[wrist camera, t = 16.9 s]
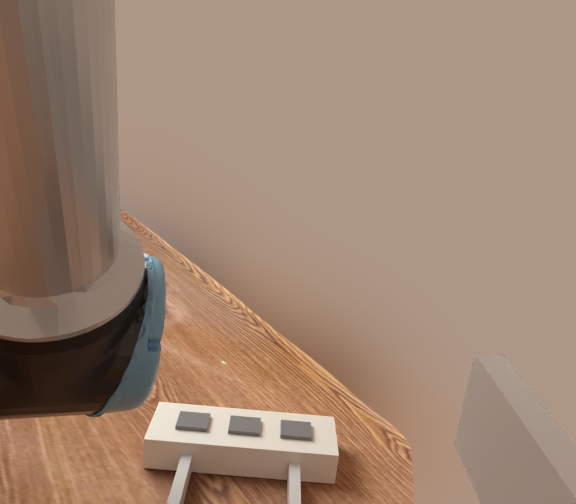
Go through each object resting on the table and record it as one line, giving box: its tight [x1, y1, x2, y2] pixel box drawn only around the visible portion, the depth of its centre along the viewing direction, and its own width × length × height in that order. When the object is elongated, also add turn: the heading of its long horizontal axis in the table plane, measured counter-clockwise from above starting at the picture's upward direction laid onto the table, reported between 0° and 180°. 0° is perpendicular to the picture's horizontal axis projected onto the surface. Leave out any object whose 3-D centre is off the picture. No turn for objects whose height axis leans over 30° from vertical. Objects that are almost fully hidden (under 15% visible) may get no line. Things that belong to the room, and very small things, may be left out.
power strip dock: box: [143, 402, 339, 504], centre depth 47 cm, size 18×16×4 cm
